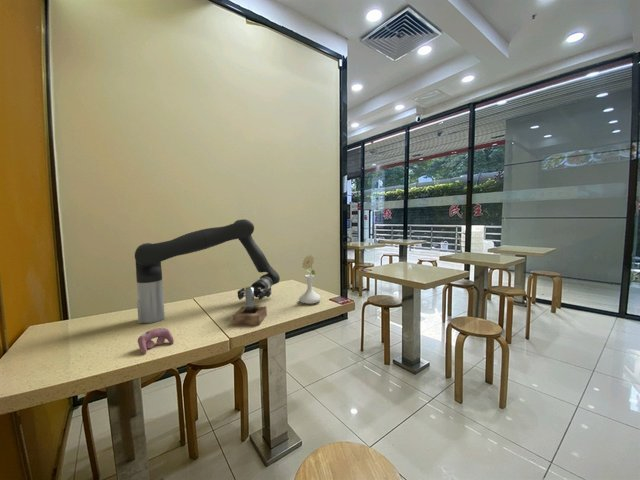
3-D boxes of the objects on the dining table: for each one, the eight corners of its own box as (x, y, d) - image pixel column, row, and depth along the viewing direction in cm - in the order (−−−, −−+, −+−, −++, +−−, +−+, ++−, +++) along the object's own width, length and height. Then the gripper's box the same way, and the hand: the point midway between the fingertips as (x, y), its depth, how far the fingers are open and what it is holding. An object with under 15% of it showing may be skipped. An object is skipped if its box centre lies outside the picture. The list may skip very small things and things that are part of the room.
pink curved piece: (171, 344, 93) (166, 325, 95) (175, 342, 91) (170, 323, 92) (139, 356, 85) (134, 335, 87) (143, 354, 83) (138, 332, 84)
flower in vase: (296, 300, 138) (295, 253, 136) (317, 297, 141) (316, 252, 139) (302, 307, 125) (301, 256, 123) (325, 305, 129) (324, 255, 127)
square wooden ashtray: (232, 324, 106) (232, 315, 106) (242, 315, 117) (242, 306, 117) (259, 325, 105) (259, 315, 105) (266, 315, 116) (266, 306, 116)
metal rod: (247, 321, 109) (246, 289, 108) (245, 319, 112) (244, 287, 111) (255, 320, 111) (254, 288, 110) (253, 317, 114) (252, 286, 113)
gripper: (246, 279, 126) (232, 288, 110) (275, 279, 125) (265, 288, 109) (246, 294, 127) (233, 306, 111) (275, 294, 126) (266, 306, 110)
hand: (249, 297), depth 110 cm, fingers open, 8 cm apart
